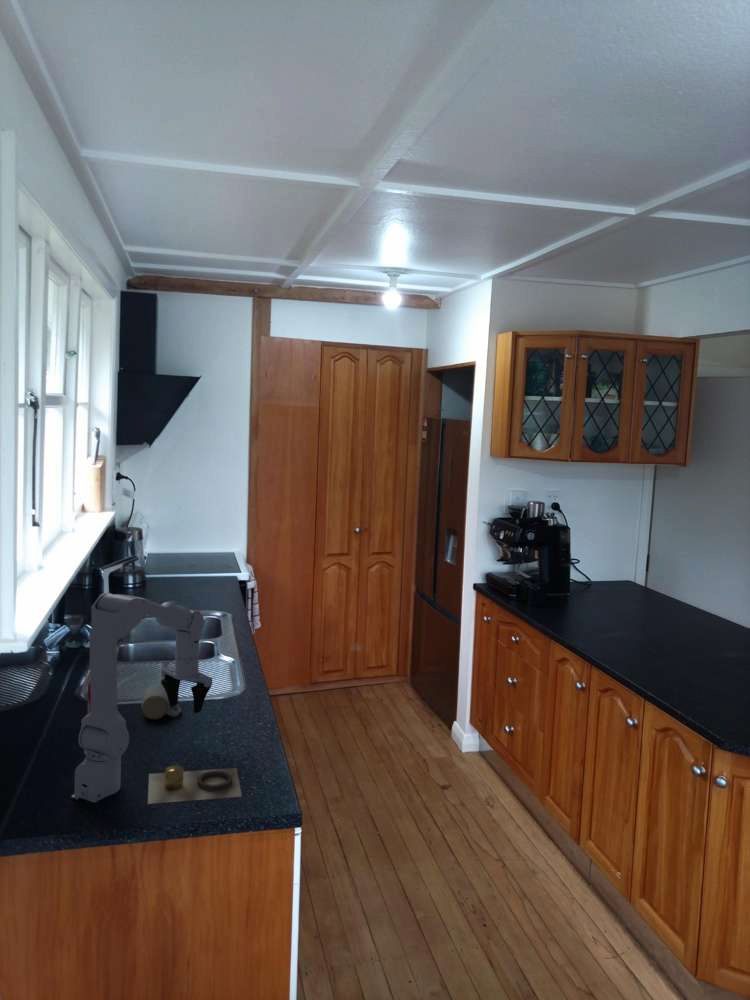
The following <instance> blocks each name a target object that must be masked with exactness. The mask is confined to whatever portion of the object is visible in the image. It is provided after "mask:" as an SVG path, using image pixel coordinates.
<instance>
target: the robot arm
mask: <svg viewBox="0 0 750 1000" xmlns="http://www.w3.org/2000/svg"><path fill="white" fill-rule="evenodd" d="M90 609H91V628H90V633H89V641H88V642H89V677H90V678H89V681H90V687H91V713H89V714H88V713H87V714H86V715H85V716H84V717H83V718H82V719H81V723H80V724H81V725H80V726H81V727H80V731H79V733H78V744H79V745H78V746H79V747H80V748H82V749H83V754H84V755H85V758H84V760H83V761H82V762H81V763H79V765H77V766H76V768H75V770H74V793H73V794H72V795H71V799H73V798H75V799H74V800H76V799H77V801H78V800H79V799H83V800H85V801H89V802H91V803H94V804H95V803H97V802H100V800H103V799H104V798H106V797H108V796H111V795H114V794H116V793H117V792H119V791H120V789H121V779H122V777H121V768H122V767H121V766H122V762H121V761H122V755H123V756H124V753H125V752H126V750H127V749H128V747H129V744H130V733H129V731H128V729H127V720H126V719H125V718H124V717H123V716H122V715H121V713H120V712H119V710H118V666H117V665H118V663H117V661H118V659H117V642H118V641H119V640H122V639H124V638H125V637H127V635H128V634H129V633H131V632H132V631H133V630H134V629H135V628H136V627H137V626H138V625H139V624H140V623H141V622H142V620H144V619H146V617H147V616H148V617H151V618H155V621H156V622H157V624H158V625H160V626H163V627H166V628H170V629H172V631H175V656H174V659H175V660H174V661H175V662H174V667H167V666H166V667H163V668H161V669H160V670H161V671H160V672H161V673H160V675H161V676H160V677H162V678H163V679H161V681H160V683H161V684H160V685H162V686H163V687H164V688H165V691H166V693H167V696H168V700H169V704H170V706H171V707H173V706H175V705H178V701H179V690H180V689H179V688H180V685H181V681H184V682H189V683H193V684H196V685H193V686H191V687H190V690H191V692H192V698H193V713H194V714H198V713H200V712H201V711H202V709H203V706H204V701H206V698H207V694H208V692H210V689H211V688H212V686H213V677H211V676H208V675H206V674H204V673H202V672H200V669H199V660H200V658H199V655H200V653H199V652H200V640H201V638H202V632H203V628H204V627H205V624H206V623H205V622H206V620H205V619H204V615H203V614H202V613H201V612H200V611H198V610H194V609H189V606H187V605H182V606H181V605H178V601H174V600H169V601H165V602H163V603H161V604H160V603H158V602H155V601H152V600H150V599H148V598H146V597H145V598H144V597H139V596H135V595H134V596H133V595H127V594H120V593H115V594H113V593H110V592H104V593H101V594H100V595H99V596H98V597H97V598H96V600H95V601H94V602H93V604H92V605H91V608H90ZM171 707H170V708H171Z"/></svg>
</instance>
